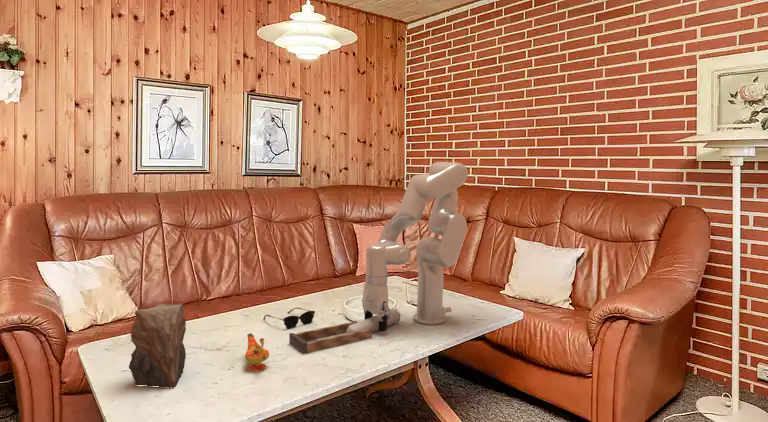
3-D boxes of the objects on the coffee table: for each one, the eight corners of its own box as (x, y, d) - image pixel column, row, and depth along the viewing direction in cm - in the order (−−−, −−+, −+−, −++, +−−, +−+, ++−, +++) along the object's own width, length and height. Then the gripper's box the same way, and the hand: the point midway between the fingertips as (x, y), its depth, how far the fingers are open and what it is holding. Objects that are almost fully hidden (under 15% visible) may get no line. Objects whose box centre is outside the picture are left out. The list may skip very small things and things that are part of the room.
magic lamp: (260, 352, 159) (260, 318, 157) (275, 375, 143) (275, 337, 141) (238, 355, 156) (237, 321, 154) (250, 379, 140) (250, 340, 138)
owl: (127, 386, 134) (124, 313, 132) (152, 367, 147) (150, 299, 144) (174, 389, 133) (171, 315, 131) (195, 369, 146) (193, 301, 144)
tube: (356, 331, 168) (402, 313, 187) (345, 323, 171) (391, 306, 190) (352, 344, 170) (398, 325, 189) (341, 336, 173) (388, 318, 192)
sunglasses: (283, 332, 178) (283, 318, 178) (260, 323, 190) (259, 310, 189) (315, 323, 188) (315, 310, 187) (291, 315, 199) (290, 303, 199)
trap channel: (356, 329, 181) (356, 319, 181) (372, 338, 173) (372, 328, 172) (289, 343, 166) (289, 333, 166) (303, 354, 158) (303, 343, 157)
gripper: (354, 275, 182) (353, 322, 184) (381, 286, 168) (380, 337, 170) (371, 273, 187) (370, 319, 189) (399, 283, 173) (398, 333, 175)
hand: (375, 327), depth 179 cm, fingers open, 8 cm apart
